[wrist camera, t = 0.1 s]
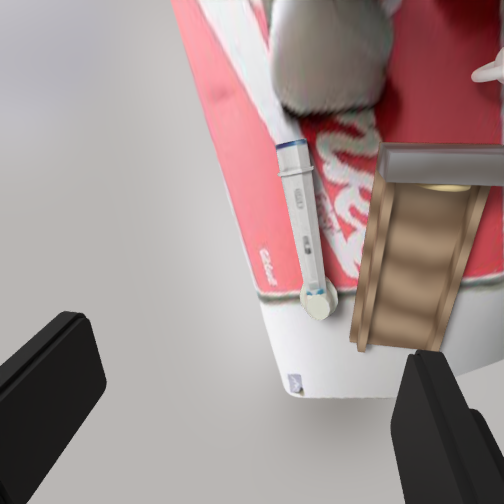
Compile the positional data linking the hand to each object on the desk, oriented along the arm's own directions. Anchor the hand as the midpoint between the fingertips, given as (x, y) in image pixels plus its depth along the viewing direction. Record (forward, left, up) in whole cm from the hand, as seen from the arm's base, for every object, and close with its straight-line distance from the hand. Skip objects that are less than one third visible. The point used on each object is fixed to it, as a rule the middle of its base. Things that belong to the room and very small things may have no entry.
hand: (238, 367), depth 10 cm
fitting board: (+14, +16, -37) cm, 42 cm away
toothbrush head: (+11, +2, -37) cm, 39 cm away
